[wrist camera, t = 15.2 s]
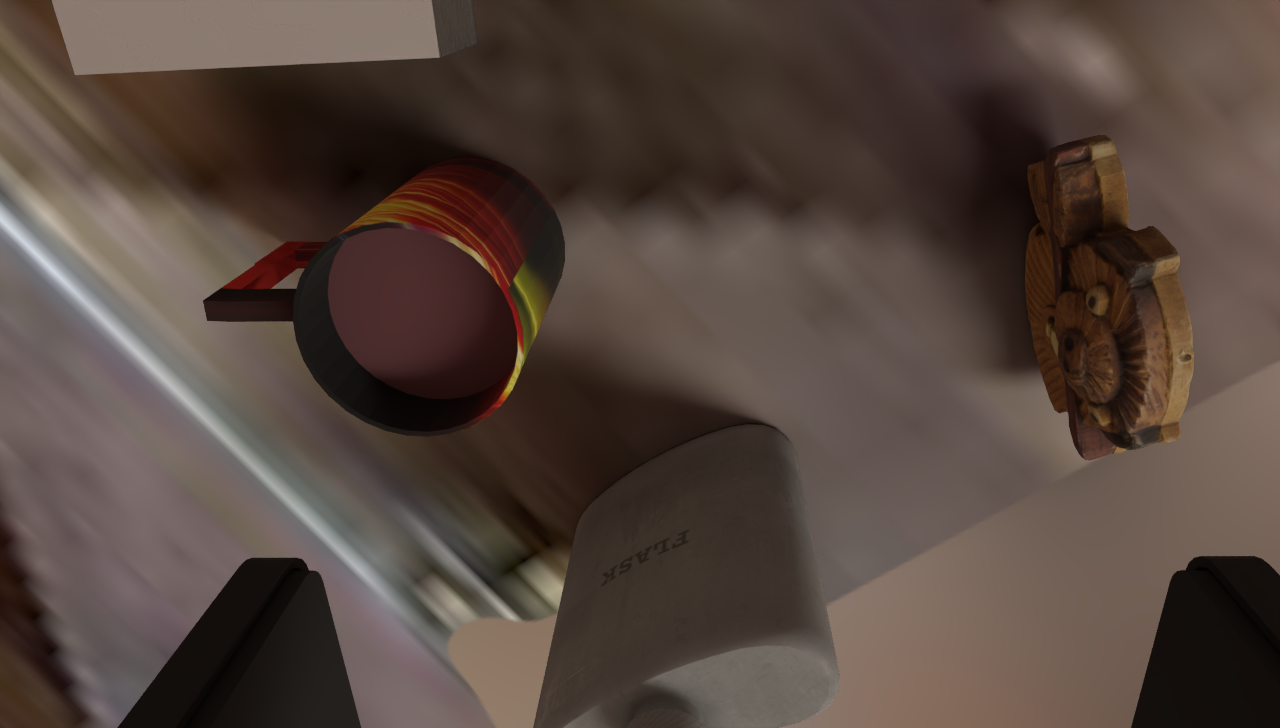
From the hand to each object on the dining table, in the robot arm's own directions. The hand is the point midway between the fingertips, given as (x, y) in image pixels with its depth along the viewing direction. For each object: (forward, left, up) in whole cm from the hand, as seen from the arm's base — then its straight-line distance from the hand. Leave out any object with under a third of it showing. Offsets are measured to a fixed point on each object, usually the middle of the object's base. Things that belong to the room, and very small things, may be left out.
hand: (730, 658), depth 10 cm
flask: (+2, +22, -36) cm, 43 cm away
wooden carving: (-18, +9, -37) cm, 42 cm away
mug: (+14, +7, -37) cm, 40 cm away
